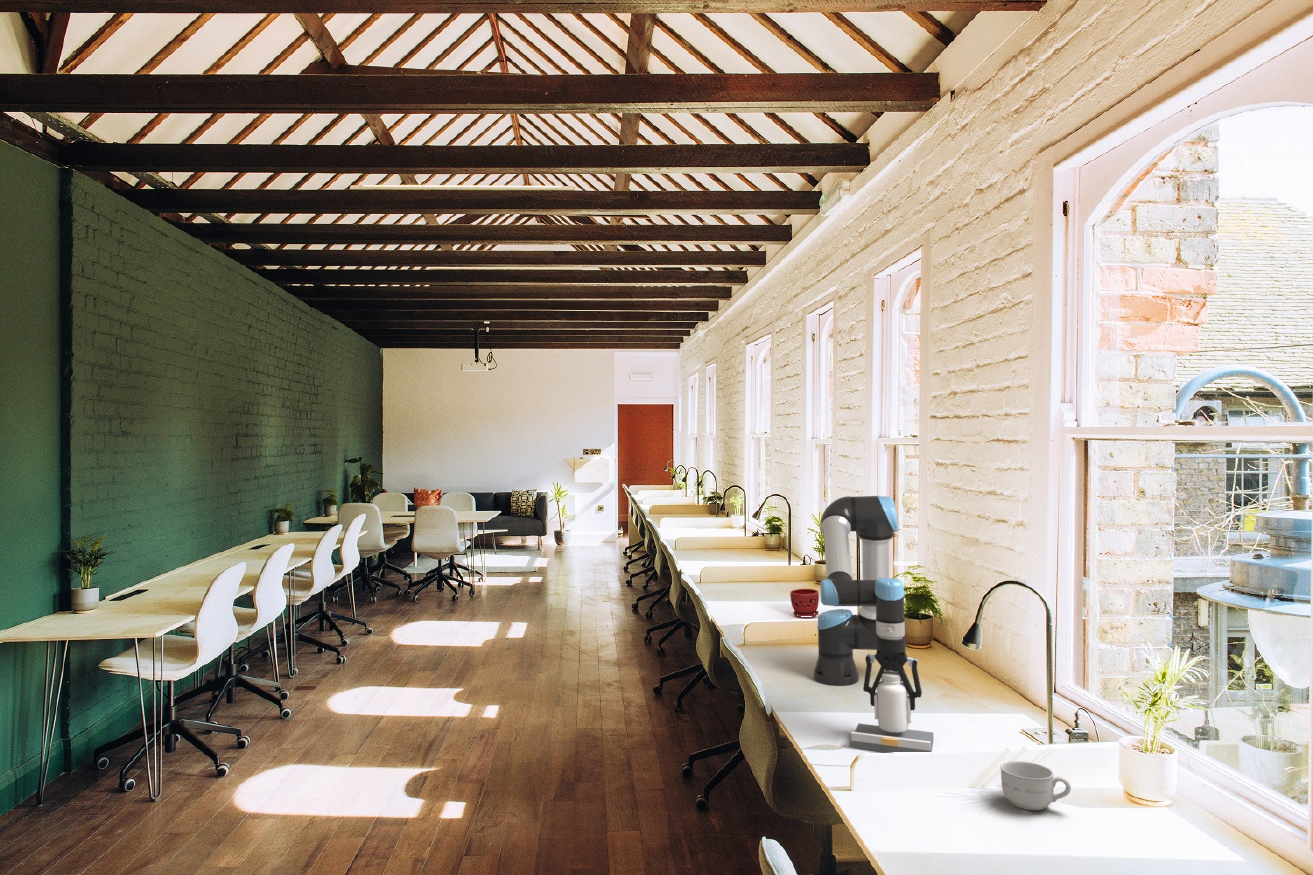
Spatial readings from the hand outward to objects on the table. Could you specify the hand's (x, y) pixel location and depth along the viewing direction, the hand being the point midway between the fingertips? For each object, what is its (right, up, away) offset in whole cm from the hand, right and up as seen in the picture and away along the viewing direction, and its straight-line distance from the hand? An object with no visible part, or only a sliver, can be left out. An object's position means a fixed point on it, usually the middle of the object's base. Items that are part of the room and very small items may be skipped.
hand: (893, 719), depth 205 cm
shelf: (-1, -6, -2) cm, 6 cm away
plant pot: (+5, -7, +148) cm, 148 cm away
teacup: (+20, -5, -38) cm, 43 cm away
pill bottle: (0, -2, 0) cm, 2 cm away
